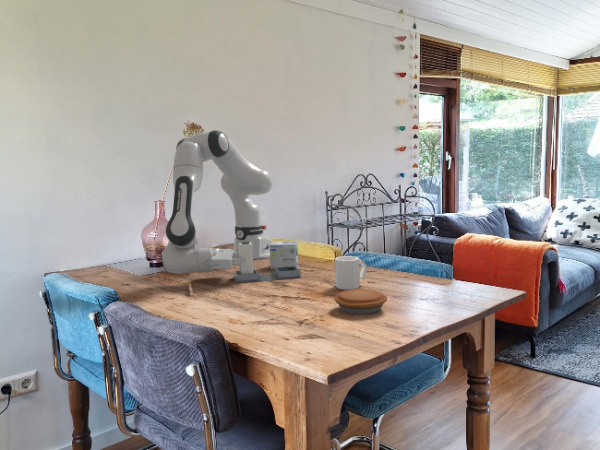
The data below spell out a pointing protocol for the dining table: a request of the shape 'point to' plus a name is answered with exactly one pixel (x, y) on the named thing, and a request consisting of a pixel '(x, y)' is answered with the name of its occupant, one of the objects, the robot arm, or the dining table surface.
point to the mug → (349, 272)
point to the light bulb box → (283, 254)
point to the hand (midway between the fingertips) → (245, 258)
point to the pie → (360, 301)
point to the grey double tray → (268, 275)
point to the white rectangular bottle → (246, 257)
